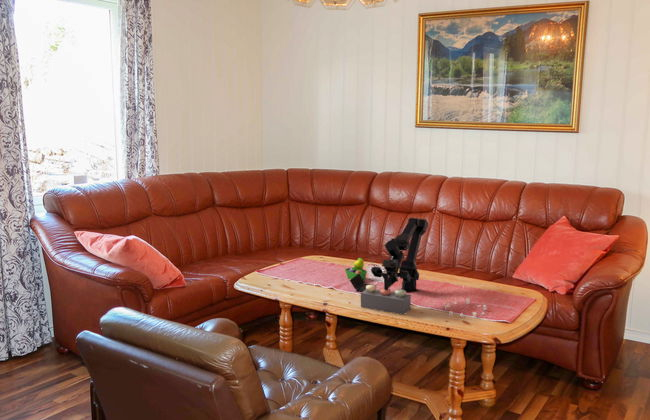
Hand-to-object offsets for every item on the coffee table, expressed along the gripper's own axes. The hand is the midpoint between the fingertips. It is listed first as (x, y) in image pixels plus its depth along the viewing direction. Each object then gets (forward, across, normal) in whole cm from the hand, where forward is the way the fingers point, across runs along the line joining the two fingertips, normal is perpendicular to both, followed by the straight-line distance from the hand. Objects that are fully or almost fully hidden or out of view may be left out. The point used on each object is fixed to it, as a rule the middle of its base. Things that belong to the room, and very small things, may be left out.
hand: (385, 289), depth 271 cm
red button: (+3, 0, +3) cm, 4 cm away
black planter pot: (-8, -23, +22) cm, 32 cm away
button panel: (+6, 0, +6) cm, 9 cm away
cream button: (+3, -8, +3) cm, 8 cm away
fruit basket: (-17, -33, +30) cm, 48 cm away
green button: (+2, +8, +3) cm, 8 cm away
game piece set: (-4, +34, +17) cm, 38 cm away
